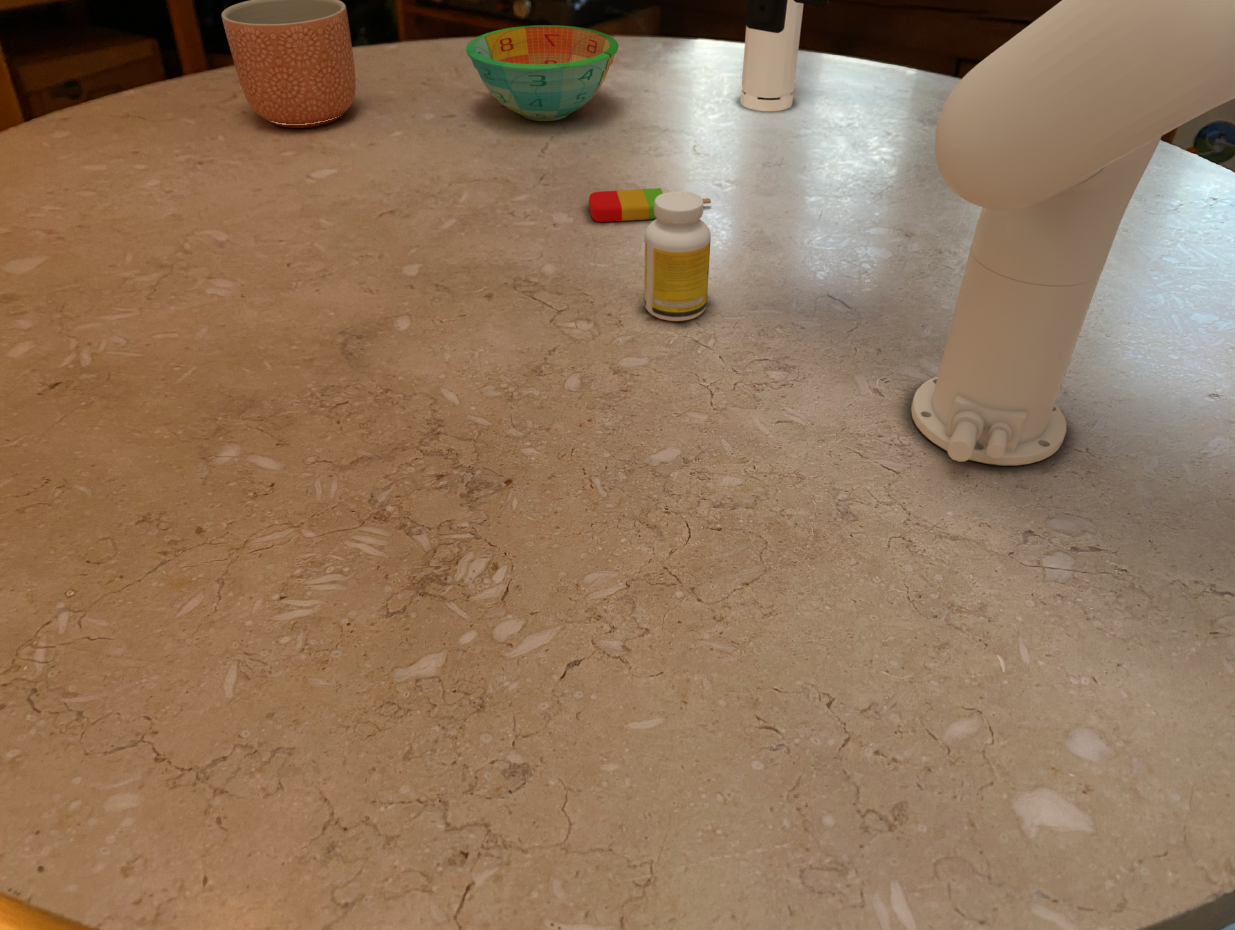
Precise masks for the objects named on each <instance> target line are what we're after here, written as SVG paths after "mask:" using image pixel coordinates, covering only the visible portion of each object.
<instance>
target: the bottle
mask: <svg viewBox="0 0 1235 930" xmlns="http://www.w3.org/2000/svg"><path fill="white" fill-rule="evenodd" d="M803 11H804V4H802V3H796V2H795V1H794V0H788V1H787V10H786V18H785V26H784V30H783V31H782V32H780V33H773V32H767V31H761V30H756V29H750V28H748V27H747V26H746V25H745V36H744V37H745V38H744V51H743V62H742V63H743V64H742V77H741V88H742V89H741V90H740V100H739V101H740V105H741V106H742V107H744V108H747V109H749V110H753V111H758V112H779V111H785V110H787V109H790V108H791V107H792V105H793V101H794V92H793V91H794V89H795V84H796V83H795V82H796V74H797V66H798V65H797V64H798V57H799V49H800V47H799V46H800V40H801V39H800V38H801V29H802V21H803V13H804V12H803ZM761 98H763V99H761Z"/></svg>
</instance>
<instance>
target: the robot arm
mask: <svg viewBox="0 0 1235 930" xmlns="http://www.w3.org/2000/svg"><path fill="white" fill-rule="evenodd" d="M787 1H788V0H747V8H746V19H745V27H746V26H747V27H748V28H750V29H756V30H761V31H767V32H773V33H780V32H782V31H783V30H784V26H785V18H786V10H787ZM794 1H795V2H796V3H802V4H803V5H810V6H814V7H822V8H824V7H825V6H827V5H828V4H829V2H830V0H794ZM1234 99H1235V0H1061V1H1059V2H1058V3H1057V4H1055V5H1054V6H1053V7H1051V8H1050V9H1049V10H1047V11H1046V12H1045V13H1043V14H1042V15H1040V16H1039V17H1038V18H1037V19H1035V20H1034V21H1032V22H1031V23H1030V24H1029V25H1027V26H1026V27H1025V28H1023V29H1022V30H1021V31H1020V32H1018V33H1017V34H1015V35H1014V36H1013V37H1011V38H1010V39H1009V40H1008V41H1006V42H1005V43H1003V44H1002V45H1001V46H1000V47H998V48H997V49H995V50H994V51H993V52H991V53H990V54H989V55H988V56H986V57H985V58H984V59H983V60H981V61H980V62H979V63H977V64H976V65H975V66H974V67H973V68H971V69H970V70H969V71H968V72H967V73H966V74H965V75H964V76H963V77H962V78H961V79H960V80H959V81H958V82H957V84H955V86H954V87H953V89H952V90H951V91H950V94H949V95H948V97H947V98H946V100H945V101H944V104H943V106H942V108H941V111H940V113H939V116H938V119H937V122H936V127H935V135H934V155H935V159H936V160H935V161H936V163H937V167H938V170H939V173H940V174H941V177H942V178H943V180H944V182H945V183H946V184H947V185H948V187H949V188H950V189H951V190H952V191H953V192H954V193H955V194H956V195H957V196H959V197H960V198H962V199H963V200H965V201H967V202H968V203H969V204H972V205H974V206H978V207H980V208H981V210H980V213H979V216H978V219H977V222H976V223H977V224H976V227H975V229H974V233H973V234H974V235H973V237H972V242H971V244H970V248H969V251H968V255H967V260H966V264H965V267H964V271H963V272H964V273H963V274H962V275H963V276H962V279H961V280H962V281H961V283H960V287H959V292H958V295H957V299H956V303H955V308H954V311H953V316H952V320H951V322H950V327H949V330H948V335H947V339H946V343H945V347H944V349H943V350H944V351H943V355H942V358H941V363H940V366H939V370H938V374H937V376H934V377H931V378H930V379H928V380H926V381H925V382H923V383H922V384H921V385H920V386H919V387H918V388H917V389H916V390H915V392H914V395H913V397H912V403H911V406H910V407H911V408H910V412H911V417H912V420H913V422H914V425H915V426H916V427H917V429H918V430H919V431H920V432H921V433H922V435H924V436H925V437H926V438H927V439H928V440H930V441H931V442H932V443H933V444H935V445H936V446H938V447H940V448H941V449H943V450H945V451H946V452H947V455H948V457H950V459H952V460H953V461H956V462H959V463H960V462H966V461H972V462H977V463H982V464H986V465H993V466H994V465H995V466H1023V465H1030V464H1034V463H1037V462H1040V461H1044V460H1045V459H1048V458H1049V457H1051V456H1053V455H1054V454H1055V453H1056V452H1057V451H1058V450H1060V447H1061V446H1062V444H1063V442H1064V439H1065V437H1066V433H1067V420H1066V418H1065V416H1064V414H1063V412H1062V411H1061V409H1060V408H1059V406H1058V405H1057V404H1056V401H1057V399H1058V397H1059V393H1060V391H1061V388H1062V385H1063V382H1064V379H1065V376H1066V375H1067V370H1068V367H1069V365H1070V363H1071V359H1072V357H1073V354H1074V351H1075V348H1076V345H1077V342H1078V340H1079V336H1080V334H1081V331H1082V328H1083V325H1084V323H1085V319H1086V318H1087V314H1088V311H1089V309H1090V306H1091V303H1092V300H1093V296H1094V294H1095V292H1096V289H1097V285H1098V283H1099V280H1100V277H1101V275H1102V273H1103V271H1104V268H1105V266H1106V263H1107V259H1108V257H1109V255H1110V252H1111V249H1112V246H1113V243H1114V241H1115V238H1116V236H1117V233H1118V230H1119V227H1120V225H1121V223H1122V220H1123V218H1124V215H1125V213H1126V211H1127V208H1128V207H1129V204H1130V202H1131V200H1132V198H1133V196H1134V193H1135V191H1136V189H1137V187H1138V185H1139V184H1140V182H1141V180H1142V178H1143V177H1144V174H1145V172H1146V170H1147V169H1148V166H1149V165H1150V161H1151V160H1152V158H1153V156H1154V154H1155V152H1156V150H1157V148H1158V146H1159V145H1160V141H1161V139H1162V137H1163V136H1164V135H1166V134H1168V133H1170V132H1171V131H1173V130H1175V129H1177V128H1178V127H1180V126H1183V125H1184V124H1186V123H1188V122H1190V121H1192V120H1193V119H1195V118H1197V117H1199V116H1201V115H1203V114H1205V113H1208V112H1209V111H1211V110H1213V109H1216V108H1217V107H1219V106H1221V105H1224V104H1226V103H1227V102H1230V101H1232V100H1234Z"/></svg>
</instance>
